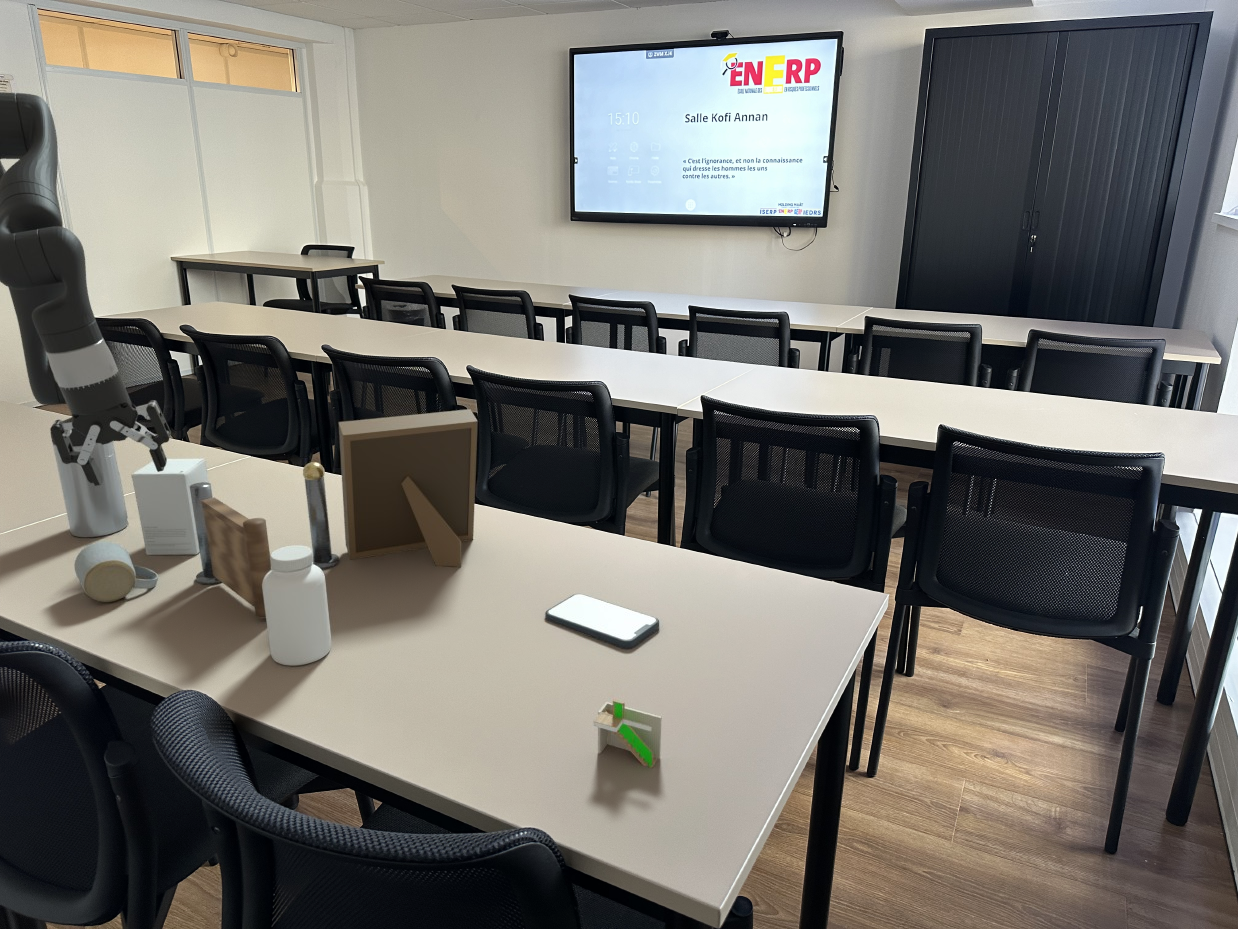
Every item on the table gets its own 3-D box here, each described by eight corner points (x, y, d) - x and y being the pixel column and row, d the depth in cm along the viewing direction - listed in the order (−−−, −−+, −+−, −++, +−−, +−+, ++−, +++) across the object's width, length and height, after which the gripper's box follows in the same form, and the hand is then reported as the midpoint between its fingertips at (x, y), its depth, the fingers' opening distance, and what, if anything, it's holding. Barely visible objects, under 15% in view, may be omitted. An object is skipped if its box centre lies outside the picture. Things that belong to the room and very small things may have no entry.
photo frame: (346, 550, 150) (333, 413, 142) (466, 531, 159) (461, 401, 151) (360, 585, 137) (347, 437, 129) (490, 562, 146) (486, 423, 138)
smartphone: (541, 622, 128) (628, 653, 119) (541, 612, 127) (628, 643, 118) (577, 600, 135) (663, 628, 126) (577, 591, 134) (663, 618, 125)
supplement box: (219, 535, 156) (207, 457, 151) (197, 555, 147) (184, 473, 143) (168, 535, 156) (155, 457, 151) (144, 555, 147) (129, 473, 142)
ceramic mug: (87, 610, 128) (78, 564, 126) (78, 591, 134) (70, 546, 132) (164, 592, 135) (158, 547, 132) (153, 574, 141) (146, 531, 138)
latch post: (311, 557, 147) (300, 458, 142) (342, 556, 148) (332, 457, 142) (303, 570, 142) (292, 467, 137) (335, 568, 143) (325, 467, 137)
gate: (210, 579, 136) (196, 494, 132) (228, 573, 138) (216, 490, 134) (260, 619, 124) (248, 527, 120) (280, 612, 126) (269, 522, 122)
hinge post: (203, 571, 141) (189, 480, 136) (235, 570, 142) (222, 479, 137) (191, 585, 137) (176, 491, 131) (225, 584, 137) (211, 490, 132)
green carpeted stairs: (646, 782, 94) (648, 720, 91) (591, 765, 96) (591, 704, 94) (660, 761, 97) (662, 700, 95) (605, 745, 100) (606, 685, 97)
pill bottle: (344, 643, 120) (334, 545, 115) (306, 672, 113) (294, 569, 108) (297, 633, 122) (286, 537, 118) (258, 661, 115) (244, 560, 111)
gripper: (146, 356, 124) (184, 455, 131) (38, 377, 120) (83, 477, 128) (138, 372, 117) (178, 475, 125) (23, 395, 114) (72, 499, 121)
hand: (130, 476), depth 126 cm, fingers open, 8 cm apart
